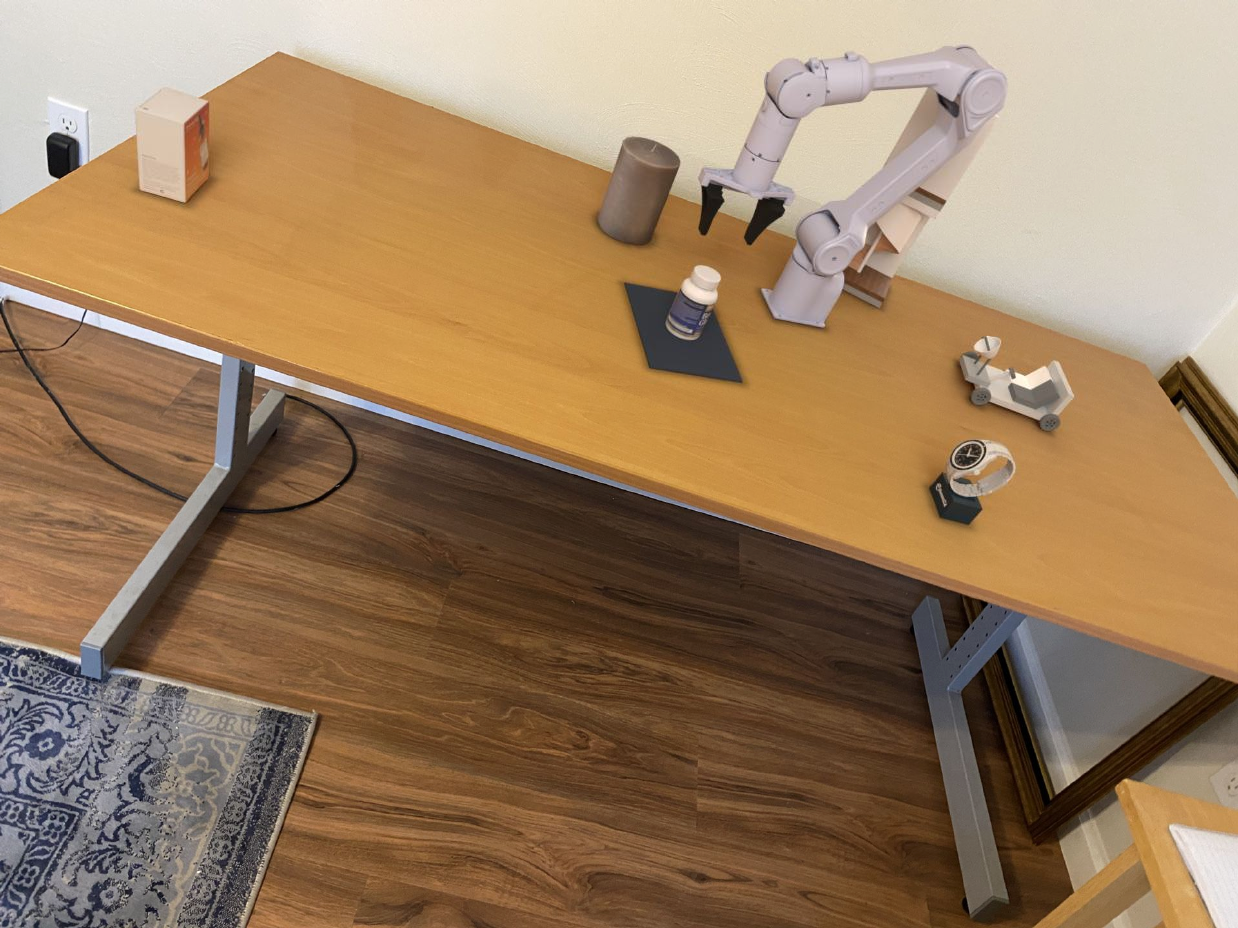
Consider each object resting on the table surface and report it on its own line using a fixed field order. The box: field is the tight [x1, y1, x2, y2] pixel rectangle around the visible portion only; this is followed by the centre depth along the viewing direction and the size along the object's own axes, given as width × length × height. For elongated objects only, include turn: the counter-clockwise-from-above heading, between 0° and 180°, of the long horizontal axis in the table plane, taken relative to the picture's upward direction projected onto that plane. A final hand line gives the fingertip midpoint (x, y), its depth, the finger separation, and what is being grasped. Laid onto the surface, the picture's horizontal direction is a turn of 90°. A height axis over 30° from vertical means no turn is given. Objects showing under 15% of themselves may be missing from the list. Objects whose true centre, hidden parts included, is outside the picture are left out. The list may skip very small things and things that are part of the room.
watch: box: [928, 438, 1017, 526], centre depth 108 cm, size 6×8×11 cm
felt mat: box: [624, 281, 744, 384], centre depth 121 cm, size 14×20×1 cm
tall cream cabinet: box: [842, 87, 1000, 309], centre depth 142 cm, size 11×11×35 cm
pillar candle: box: [597, 135, 681, 246], centre depth 134 cm, size 10×10×15 cm
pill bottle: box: [666, 264, 722, 340], centre depth 118 cm, size 5×5×10 cm
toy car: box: [959, 335, 1075, 432], centre depth 136 cm, size 18×10×12 cm
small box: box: [134, 86, 210, 204], centre depth 104 cm, size 8×6×10 cm
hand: (724, 237), depth 125 cm, fingers open, 7 cm apart
